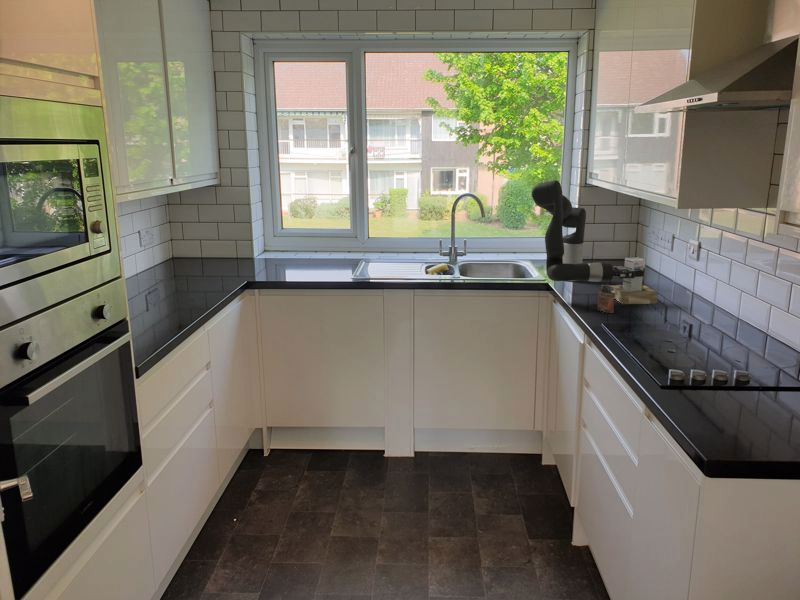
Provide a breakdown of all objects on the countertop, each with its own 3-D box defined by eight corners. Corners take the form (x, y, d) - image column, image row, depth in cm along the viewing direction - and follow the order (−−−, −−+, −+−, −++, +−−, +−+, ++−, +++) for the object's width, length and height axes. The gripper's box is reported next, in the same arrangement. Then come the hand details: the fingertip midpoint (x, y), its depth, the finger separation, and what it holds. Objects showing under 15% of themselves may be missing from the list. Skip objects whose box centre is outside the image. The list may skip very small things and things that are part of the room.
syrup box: (630, 296, 249) (633, 259, 245) (621, 292, 254) (624, 257, 251) (643, 295, 250) (646, 259, 247) (633, 291, 256) (637, 256, 252)
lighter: (594, 309, 239) (596, 283, 237) (601, 308, 240) (603, 282, 238) (608, 314, 232) (610, 287, 229) (616, 313, 233) (617, 287, 231)
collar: (608, 295, 260) (609, 285, 259) (642, 295, 260) (643, 284, 259) (621, 304, 246) (622, 293, 245) (656, 303, 246) (657, 292, 245)
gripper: (605, 266, 242) (648, 265, 242) (593, 259, 256) (633, 259, 256) (604, 285, 244) (646, 284, 244) (592, 277, 258) (632, 277, 258)
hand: (639, 271), depth 250 cm, fingers closed on syrup box, 6 cm apart
